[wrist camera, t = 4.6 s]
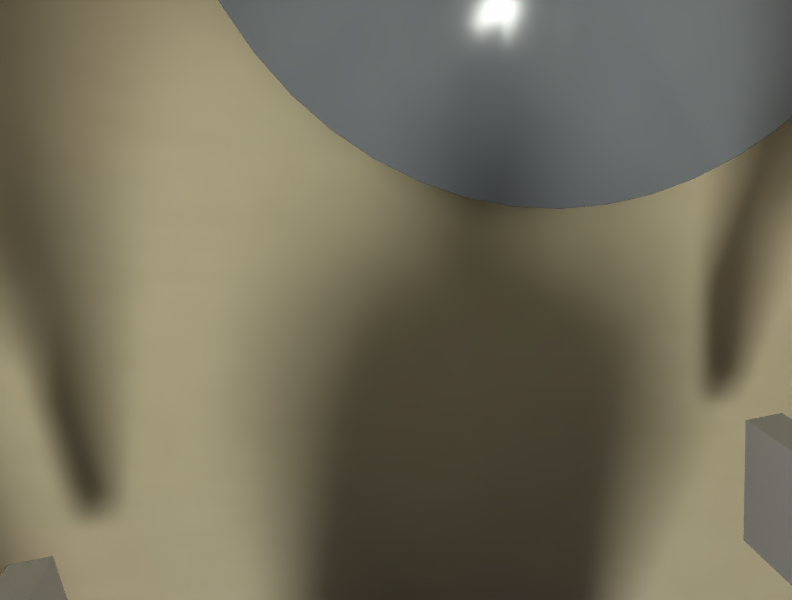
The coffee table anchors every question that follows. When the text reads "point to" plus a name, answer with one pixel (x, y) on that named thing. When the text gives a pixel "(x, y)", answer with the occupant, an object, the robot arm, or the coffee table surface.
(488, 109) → the grey round disc
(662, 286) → the coffee table surface
